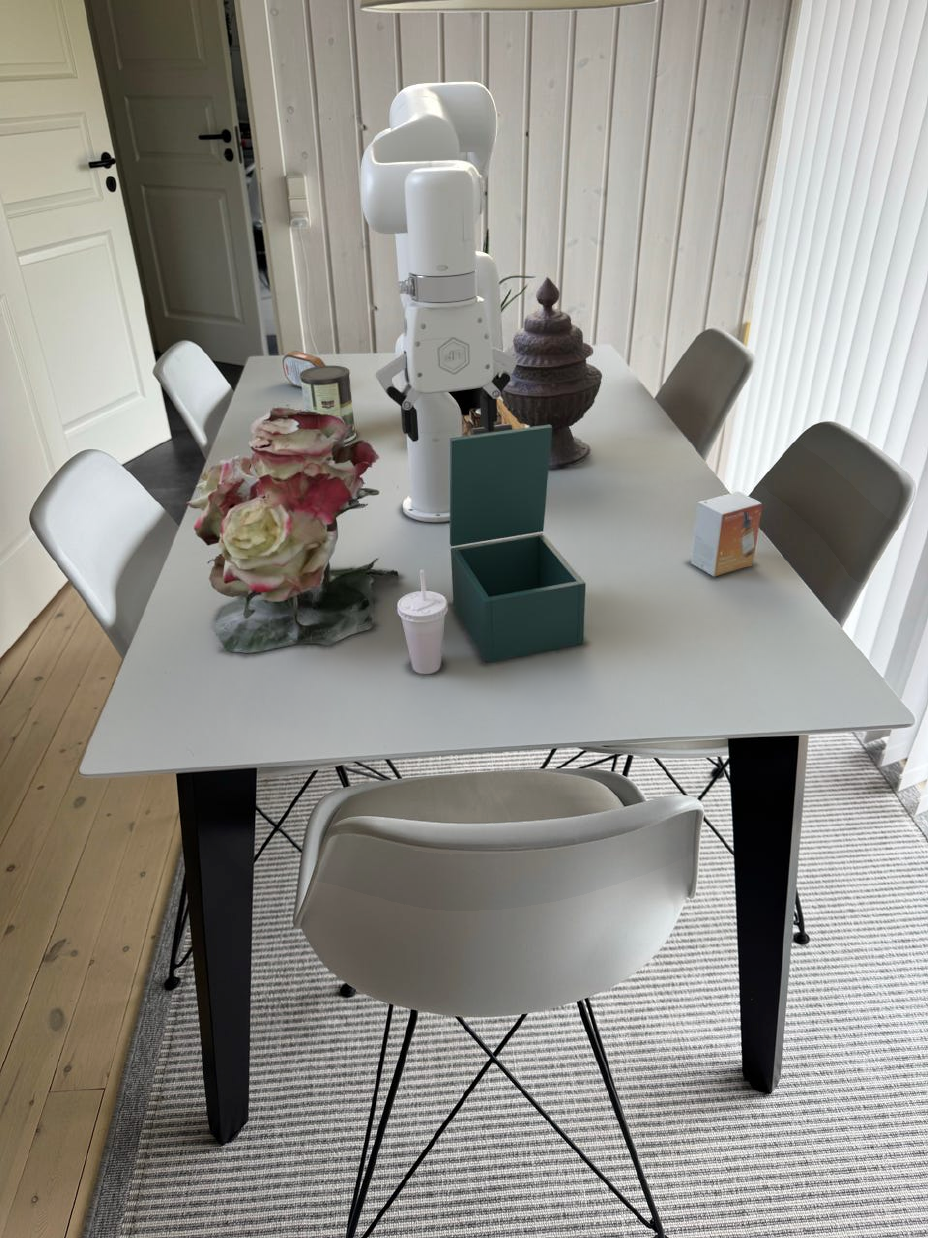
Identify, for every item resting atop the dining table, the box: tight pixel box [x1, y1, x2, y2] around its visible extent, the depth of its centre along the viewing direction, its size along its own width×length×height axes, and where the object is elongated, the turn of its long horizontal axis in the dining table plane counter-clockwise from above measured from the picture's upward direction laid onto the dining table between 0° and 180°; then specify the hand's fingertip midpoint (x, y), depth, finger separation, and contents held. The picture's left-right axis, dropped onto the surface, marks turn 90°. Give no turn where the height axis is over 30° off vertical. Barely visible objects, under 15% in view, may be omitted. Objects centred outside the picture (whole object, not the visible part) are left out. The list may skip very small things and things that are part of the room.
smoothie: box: [397, 569, 449, 675], centre depth 115 cm, size 6×6×14 cm
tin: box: [282, 350, 327, 389], centre depth 223 cm, size 15×3×8 cm, turn 49°
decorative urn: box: [500, 276, 603, 470], centre depth 171 cm, size 20×20×35 cm
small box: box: [690, 490, 763, 578], centre depth 137 cm, size 8×6×10 cm
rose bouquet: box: [185, 404, 400, 654], centre depth 124 cm, size 26×29×30 cm
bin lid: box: [449, 422, 552, 548], centre depth 125 cm, size 17×14×5 cm
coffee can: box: [300, 365, 357, 444], centre depth 190 cm, size 10×10×14 cm
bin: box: [450, 532, 587, 664], centre depth 125 cm, size 16×14×9 cm
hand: (450, 433), depth 112 cm, fingers open, 9 cm apart
